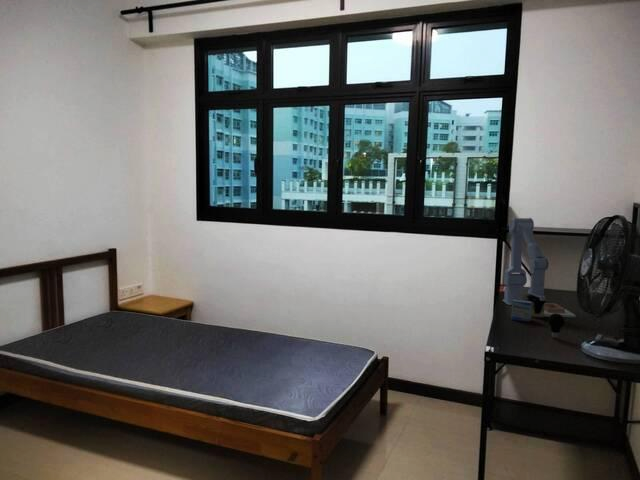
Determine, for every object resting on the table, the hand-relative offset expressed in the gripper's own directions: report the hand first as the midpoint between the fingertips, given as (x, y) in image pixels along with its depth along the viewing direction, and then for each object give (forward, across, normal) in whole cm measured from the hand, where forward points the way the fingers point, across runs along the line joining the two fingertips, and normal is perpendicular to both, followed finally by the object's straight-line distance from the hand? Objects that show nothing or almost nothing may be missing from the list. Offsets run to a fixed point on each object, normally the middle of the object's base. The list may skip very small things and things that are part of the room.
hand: (535, 312), depth 218 cm
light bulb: (+2, +32, -5) cm, 32 cm away
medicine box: (+2, +7, -9) cm, 12 cm away
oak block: (+2, 0, 0) cm, 2 cm away
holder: (+2, -8, +11) cm, 14 cm away
